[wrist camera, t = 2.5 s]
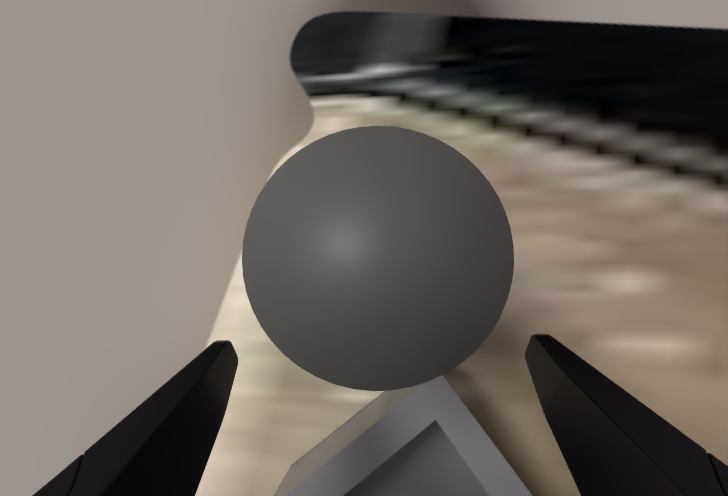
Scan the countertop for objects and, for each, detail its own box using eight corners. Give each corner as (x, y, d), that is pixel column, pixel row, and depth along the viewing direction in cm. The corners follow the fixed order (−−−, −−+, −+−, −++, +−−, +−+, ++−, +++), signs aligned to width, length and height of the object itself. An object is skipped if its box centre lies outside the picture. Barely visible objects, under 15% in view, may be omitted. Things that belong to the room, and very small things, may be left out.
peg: (368, 356, 18) (342, 459, 5) (318, 283, 19) (195, 219, 6) (438, 301, 18) (575, 271, 6) (385, 234, 19) (398, 84, 7)
